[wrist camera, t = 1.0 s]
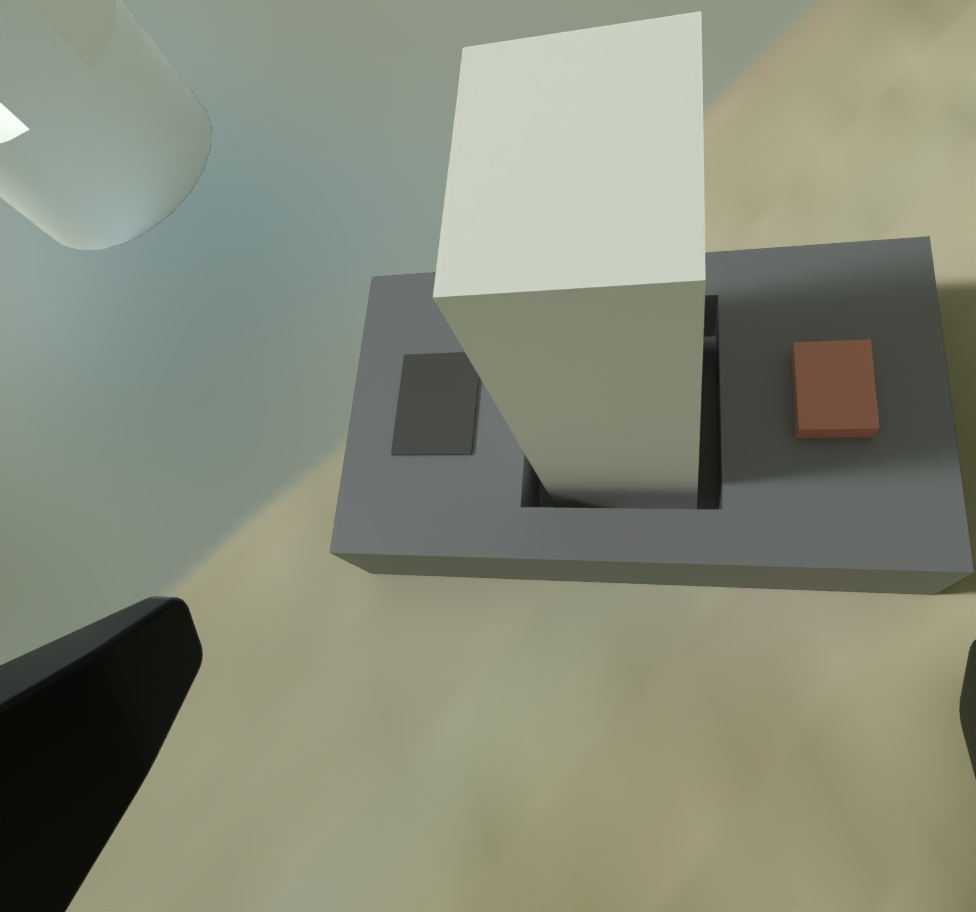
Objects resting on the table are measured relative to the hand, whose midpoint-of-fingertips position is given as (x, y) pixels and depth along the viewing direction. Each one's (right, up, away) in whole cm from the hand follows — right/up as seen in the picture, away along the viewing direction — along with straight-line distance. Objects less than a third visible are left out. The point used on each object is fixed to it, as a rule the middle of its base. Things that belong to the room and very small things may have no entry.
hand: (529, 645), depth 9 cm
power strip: (+4, +3, +15) cm, 15 cm away
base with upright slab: (-17, +15, +25) cm, 34 cm away
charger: (+4, +3, +14) cm, 15 cm away
